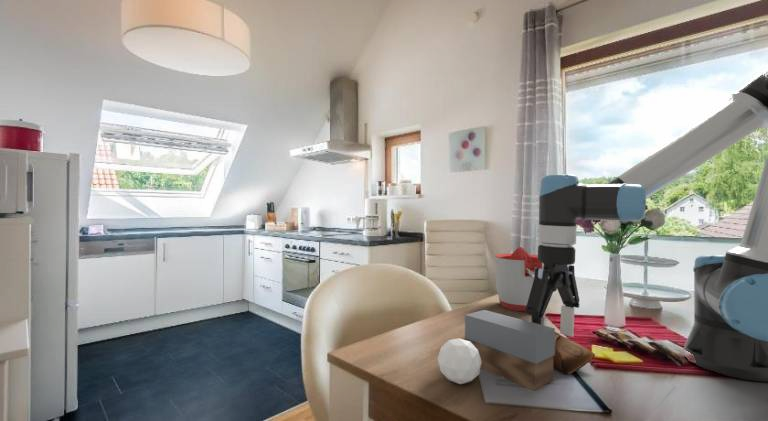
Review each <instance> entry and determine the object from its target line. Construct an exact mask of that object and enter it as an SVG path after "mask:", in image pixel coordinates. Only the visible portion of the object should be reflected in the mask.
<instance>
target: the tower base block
mask: <svg viewBox="0 0 768 421" xmlns="http://www.w3.org/2000/svg"><path fill="white" fill-rule="evenodd" d="M462 339H463V340H467V341H470V342H471V343H472V344H473V345H474V346H475V347H476V348H477V349H478V352H479V355H480V358H481V361H482V363H481V368H480V369H483V370H485V371H487V372H490V373H492V374H494V375H497V376H499V377H501V376H502V377H501V378H503V377H504V379H505V378H506V380H508V381H511V382H513V383H515V384H518V385H520V386H523V387H525V388H528V389H529V390H532V391H537V390H539V389H540V388H542V387H544V386H546V385H548V384H549V383H552V382H553V381H554V366H553V356H552V357H550V358H547V359H545V360H543V361H541V362H539V363H537V364H535V363H532V362H529V361H527V360H524V359H521V358H518V357H515V356H513V355H510V354H507V353H504V352H502V351H499V350H496V349H493V348H490V347H488V346H485V345H482V344H479V343H476V342H474V341H471V340H468V339H465V337H464V338H462Z"/></svg>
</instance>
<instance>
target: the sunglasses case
mask: <svg viewBox="0 0 768 421" xmlns="http://www.w3.org/2000/svg"><path fill="white" fill-rule="evenodd" d="M595 356H596V354H595V353H594V352H593V351H591V350H590V349H588V348H587V347H585V346H583V345H581V344H579V343H578V342H576V341H573V340H571V339H569V338H568V337H565V336H564V335H561V333H560V332H559V333H558V332H557V331H555V355H554V356H553V368H555V369H557V370H558V371H559V372H562V373H565V374H567V375H572V374H573V373H575V372H576V371H579V370H580V369H582V368H584V366H585V365H587V364H588V363H589V362H591V361H592V360H593V359H594V358H595Z"/></svg>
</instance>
